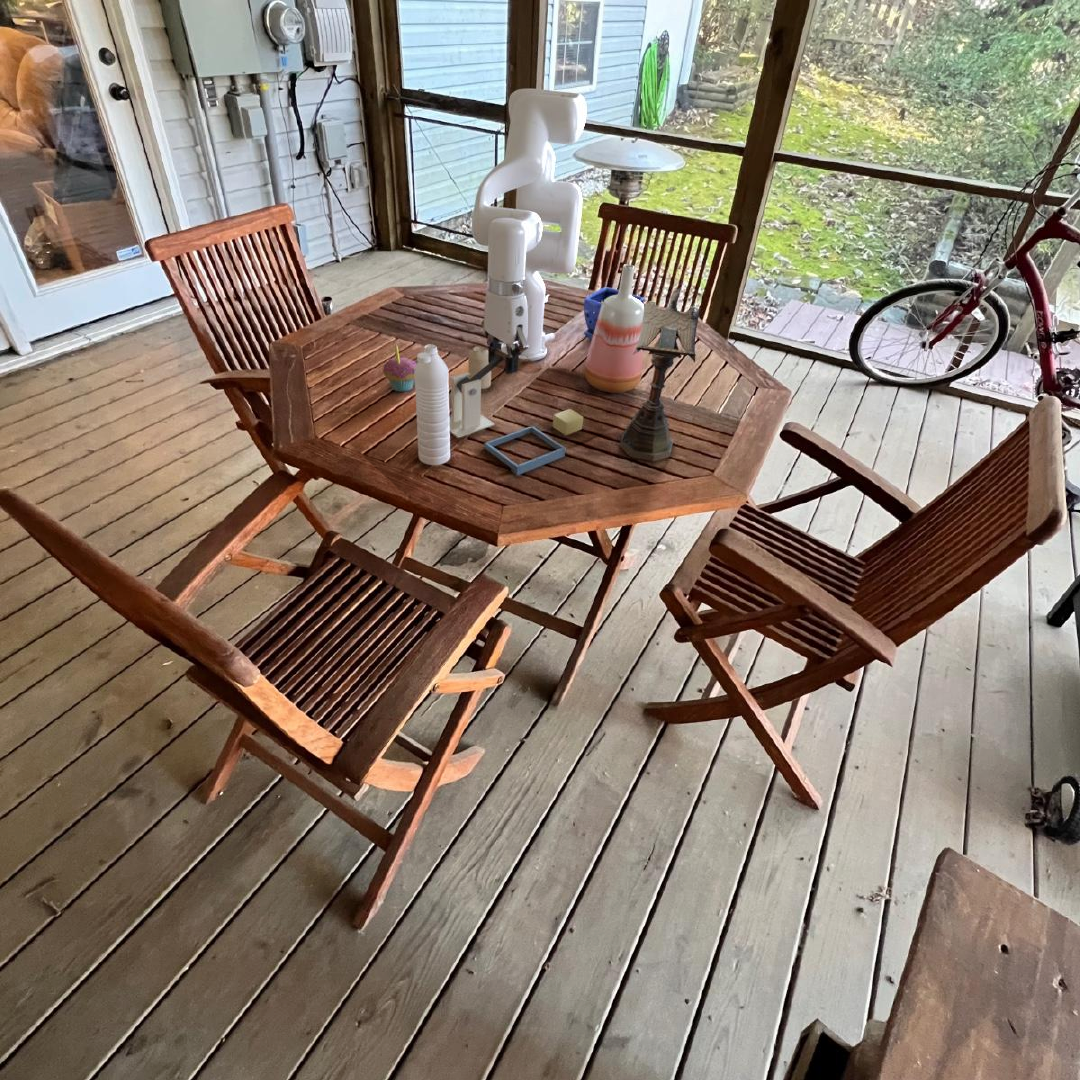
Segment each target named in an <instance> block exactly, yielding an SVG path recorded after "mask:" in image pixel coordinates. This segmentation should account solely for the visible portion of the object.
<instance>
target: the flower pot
mask: <svg viewBox="0 0 1080 1080" xmlns="http://www.w3.org/2000/svg"><path fill="white" fill-rule="evenodd" d="M618 292H619V289H616V288H613V287H607V286H605V287H602V288H600V289H598V290H596V291H595V292H593V293H591V294H590V295H588V296H586V297H585V298H584V301H583V303H584V304H583V315H584V320H585V325H586V327H587V329H586V330H584V332H583V333H584V335H585V337H586V338H588V339H589V340H592V337H593V334H594V330H595V326H596V323H597V319H598V316H599V312H600V309H601V305H602V303H603V301H604V300H605V299H606V298H608V297H610V296H613V295H617V294H618ZM631 295H632V297H634V298H636V299H638V300H639V301H640V302H641V303H642V304H643V305H644V303H645V298H644V297H642V296H639V295H636V294H633V293H631Z"/></svg>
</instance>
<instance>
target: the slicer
mask: <svg viewBox="0 0 1080 1080" xmlns="http://www.w3.org/2000/svg"><path fill="white" fill-rule="evenodd" d="M465 377H467V378H469V379H470V373H469V371H467V372H464V373H460V374H457V375H453V376H451V377H450V394H451V395H450V401H451V402H450V403H451V405H450V406H451V408H450V409H451V410H450V411H451V412H450V413H451V416H449V420H450V422H449V426H450V432H449V433H450V434H452V435H453V436H454V437H456V438H457V439H460V438H462V437H465V436H468V435H471V434H474V433H476V432H479V431H482V430H485V429H488V428H491V427H493V426H495V424H496V423H494V422H493V421H491V420H490V419H488V418H487V417H486V416H485V415H483V414H482V412H481V411H482V389H481V381H480V380H479V379H478V380H475V381H472V382H468V383H465V384H462V393H460V391H459V389H458V387H457V384H458V383H459V382H460V381H462V380H463V379H464V378H465Z"/></svg>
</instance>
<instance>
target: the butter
mask: <svg viewBox="0 0 1080 1080" xmlns="http://www.w3.org/2000/svg"><path fill="white" fill-rule="evenodd" d="M552 417H553V418H552V428H553V429H555V430H557V431H558V432H560V434H563V435H564V436H567V435H568V436H569V435H570V434H574V433H575V432H578V431H581V430H582V429H583V424H584V416H583V415H581V414H579V413H578V412H577V411H575V410H573V409H571V408H568V409H566V410H563V411H560V412H556V413H554V414H553V416H552Z"/></svg>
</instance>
